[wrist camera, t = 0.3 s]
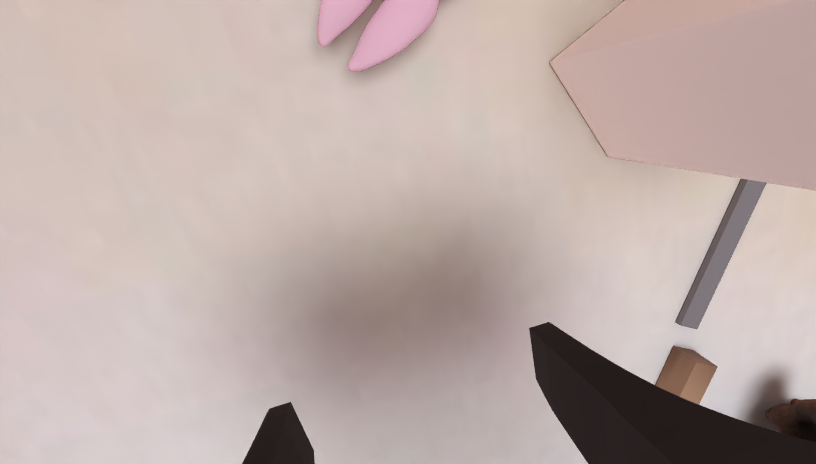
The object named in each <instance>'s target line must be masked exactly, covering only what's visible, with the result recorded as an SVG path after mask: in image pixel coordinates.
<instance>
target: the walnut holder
mask: <svg viewBox="0 0 816 464" xmlns="http://www.w3.org/2000/svg"><path fill="white" fill-rule="evenodd" d="M716 369H717V366H716V365H714V364H713V363H711V362H710V361H708V360H707V359H705V358H704V357H702V356H701V355H700V354H698V353H697V352H695V351H693V350H689V349H684V348H680V347H676V346H673V349H672V351H671V353H670V355H669V357H668V359H667V362H666V364H665V366H664V368H663V370H662V372H661V374H660V377H659V379H658V381H657V383H656V385H655V386H657V387H659V388H662V389H664V390H666V391H668V392H670V393H673V394H675V395H677V396H679V397H681V398H684V399H686V400H688V401H691V402H693V403H696V404H698V405H699V403H700V401H701V399H702V397H703V395H704V393H705V391H706V389H707V387H708V385H709V383H710V381H711V379H712V377H713V375H714V373H715V371H716Z"/></svg>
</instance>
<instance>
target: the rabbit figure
mask: <svg viewBox="0 0 816 464" xmlns="http://www.w3.org/2000/svg"><path fill="white" fill-rule="evenodd" d="M372 1H373V0H321V4H320V11H319V19H318V41H319V43H320V45H321V46H322V47H325V46H327V45H328V44H329V43H330V42H331V41H332V40H334V39H335V38H336V37H337V36H338V35H339V34H340V33H342V32H343V31H344V30H345V29H346V28H348V27H349V26H350V25H351V24H352V23H353V22H354V21H355V20H356V19H357V18H358V17H359V16H360V15H361V14H362V13H363V12H364V11H365V10H366V8H367V7H368V6H369V5H370V4H371V2H372ZM438 3H439V0H384V1H383V2H382V4H381V5H380V7H379V8H378V10H377V11H376V12H375V14H374V15H373V17H372V18H371V19H370V21H369V23H368V24H367V26H366V28H365V30H364V32H363V33H362V35H361V38H360V40H359V42H358V45H357V47H356V49H355V52H354V54H353V56H352V58H351V60H350V62H349V64H348V69H349V70H350V71H353V72H357V71H361V70H364V69H367V68H370V67H372V66H374V65H376V64H379V63H381V62H383V61H385V60H387V59H389V58H390V57H392V56H394V55H396V54H397V53H399V52H400V51H402V50H403V49H404V48H406V47H407V46H408V45H409V44H410V43H411V42H413V41H414V40H415V39H416V38H417V37H419V36H420V35H421V34H422V33H423V32H424V31H425V30H426V29H427V28H428V27H429V25H430V24H431V23H432V21H433V20H434V18H435V16H436V13H437V10H438Z"/></svg>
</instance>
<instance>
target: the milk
mask: <svg viewBox="0 0 816 464" xmlns="http://www.w3.org/2000/svg"><path fill="white" fill-rule="evenodd" d="M550 65H551V66H552V68H553V69H554V71H555V73H556V74H557V76H558V77H559V79H560V81H561V82H562V84H563V85H564V87H565V89H566V90H567V92H568V93H569V95H570V97H571V98H572V100H573V101H574V103H575V105H576V106H577V108H578V109H579V111H580V113H581V114H582V116H583V117H584V119H585V121H586V122H587V124H588V125H589V127H590V129H591V130H592V132H593V133H594V135H595V136H596V138H597V140H598V141H599V143H600V144H601V146H602V148H603V149H604V151H605V152H606V154H607V156H608V157H612V158H618V159H624V160H630V161H636V162H642V163H648V164H655V165H661V166H667V167H673V168H679V169H685V170H692V171H698V172H704V173H710V174H716V175H723V176H729V177H735V178H741V179H747V180H753V181H760V182H766V183H772V184H778V185H784V186H791V187H797V188H803V189H809V190H815V191H816V0H624V1H623V2H622V3H621V4H619V5H618V6H617V7H616V8H615V9H613V10H612V11H611V12H610V13H609V14H607V15H606V16H605V17H604V18H602V19H601V20H600V21H599V22H598V23H596V24H595V25H594V26H593V27H592V28H590V29H589V30H588V31H587V32H586V33H584V34H583V35H582V36H581V37H579V38H578V39H577V40H576V41H575V42H573V43H572V44H571V45H570V46H569V47H567V48H566V49H565V50H564V51H562V52H561V53H560V54H559V55H558V56H556V57H555V58H554V59H553V60H552V61H551V62H550Z"/></svg>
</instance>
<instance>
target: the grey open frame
mask: <svg viewBox="0 0 816 464" xmlns="http://www.w3.org/2000/svg"><path fill="white" fill-rule="evenodd" d="M765 185H766V182H760V181H753V180H747V179H741V181H740V183H739V185H738V188H737V190H736V192H735V194H734V196H733V199H732V201H731V203H730V205H729V207H728V209H727V212H726V214H725V216H724V218H723V220H722V222H721V225H720V227H719V229H718V231H717V233H716V235H715V238H714V240H713V242H712V244H711V246H710V249H709V251H708V253H707V255H706V257H705V259H704V262H703V264H702V266H701V268H700V270H699V272H698V275H697V277H696V279H695V281H694V283H693V285H692V288H691V290H690V292H689V294H688V296H687V299H686V301H685V303H684V305H683V307H682V309H681V312H680V314H679V316H678V318H677V320H676V323H678V324H679V325H681V326H685V327H690V328H694V329H697V328H698V326H699V324H700V322H701V320H702V318H703V316H704V314H705V312H706V309H707V307H708V305H709V303H710V301H711V299H712V297H713V295H714V293H715V290H716V288H717V286H718V284H719V282H720V280H721V278H722V276H723V274H724V271H725V269H726V267H727V265H728V263H729V261H730V259H731V257H732V255H733V252H734V250H735V248H736V246H737V244H738V242H739V240H740V238H741V236H742V233H743V231H744V229H745V227H746V225H747V223H748V221H749V219H750V217H751V214H752V212H753V210H754V208H755V206H756V204H757V202H758V200H759V198H760V195H761V193H762V191H763V189H764V187H765Z"/></svg>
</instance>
